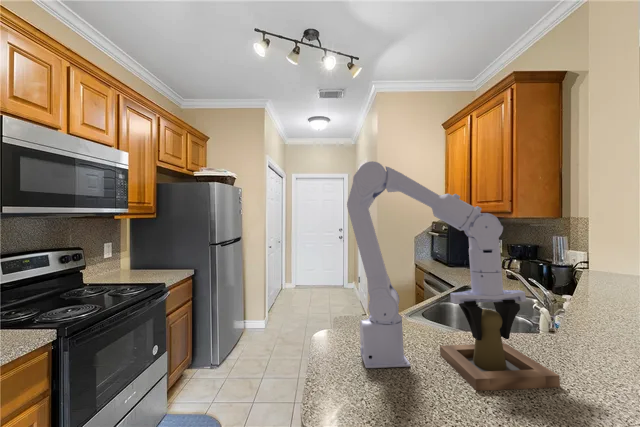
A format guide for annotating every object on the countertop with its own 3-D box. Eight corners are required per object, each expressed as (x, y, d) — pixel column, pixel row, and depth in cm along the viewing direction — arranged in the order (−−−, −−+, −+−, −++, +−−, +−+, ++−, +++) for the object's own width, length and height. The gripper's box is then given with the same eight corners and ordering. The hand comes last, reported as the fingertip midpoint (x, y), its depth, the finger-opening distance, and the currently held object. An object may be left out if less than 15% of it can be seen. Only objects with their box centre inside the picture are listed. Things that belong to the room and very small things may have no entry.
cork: (512, 372, 57) (510, 316, 56) (479, 371, 57) (477, 316, 57) (498, 355, 63) (496, 305, 62) (468, 355, 63) (466, 305, 63)
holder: (476, 390, 51) (475, 379, 51) (440, 354, 66) (439, 345, 66) (560, 387, 51) (559, 375, 51) (505, 352, 66) (504, 343, 66)
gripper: (507, 267, 64) (512, 329, 63) (442, 269, 64) (446, 332, 63) (531, 271, 57) (537, 342, 56) (457, 274, 57) (462, 345, 56)
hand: (490, 338), depth 59 cm, fingers closed on cork, 5 cm apart
